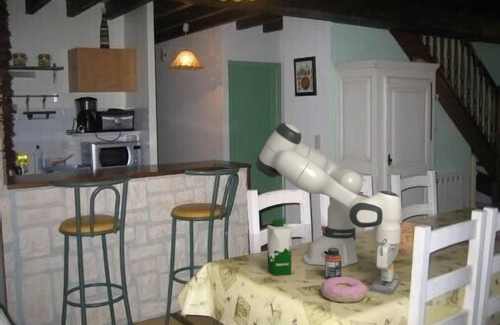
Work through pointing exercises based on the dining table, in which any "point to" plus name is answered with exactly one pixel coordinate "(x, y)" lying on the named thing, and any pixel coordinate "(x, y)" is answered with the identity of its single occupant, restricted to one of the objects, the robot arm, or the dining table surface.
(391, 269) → the fader knob
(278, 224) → the milk carton
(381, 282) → the console
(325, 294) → the donut
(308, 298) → the dining table surface
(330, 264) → the supplement bottle
